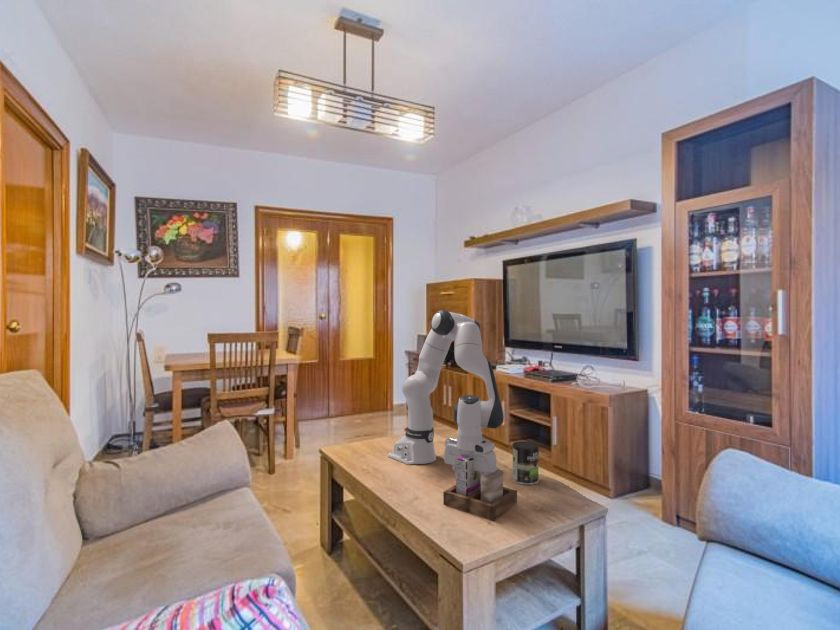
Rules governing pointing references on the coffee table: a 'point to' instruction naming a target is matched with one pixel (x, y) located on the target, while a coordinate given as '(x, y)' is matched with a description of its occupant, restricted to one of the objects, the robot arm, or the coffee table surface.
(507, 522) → the coffee table surface
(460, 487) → the candy bar box
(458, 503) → the tray
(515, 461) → the coffee can
